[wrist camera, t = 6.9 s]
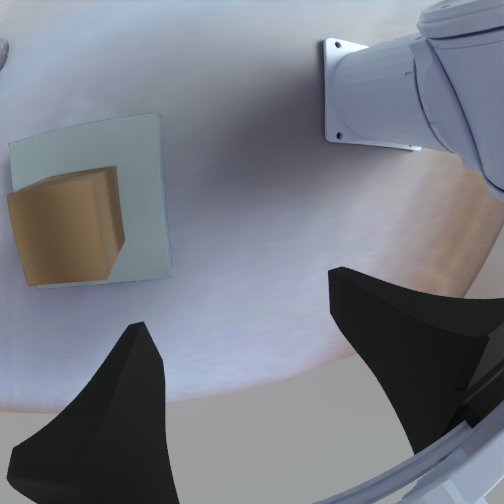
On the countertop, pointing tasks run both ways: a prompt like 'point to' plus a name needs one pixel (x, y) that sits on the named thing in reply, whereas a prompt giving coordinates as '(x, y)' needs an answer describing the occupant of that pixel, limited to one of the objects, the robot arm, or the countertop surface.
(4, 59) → the stone block
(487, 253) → the countertop surface
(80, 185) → the walnut block
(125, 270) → the base slab
